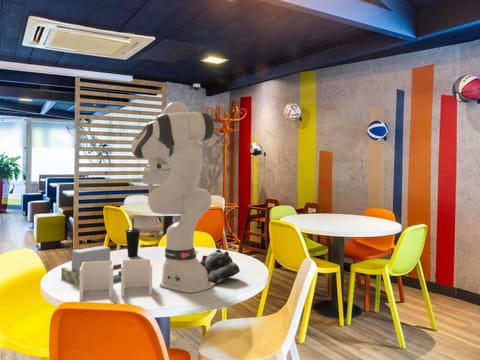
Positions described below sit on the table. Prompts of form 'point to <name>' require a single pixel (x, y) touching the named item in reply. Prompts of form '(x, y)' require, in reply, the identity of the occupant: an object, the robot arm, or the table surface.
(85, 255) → the slate block
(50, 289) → the table surface
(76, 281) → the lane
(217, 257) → the dark grey lumpy object
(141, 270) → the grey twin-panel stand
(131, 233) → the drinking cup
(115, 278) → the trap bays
